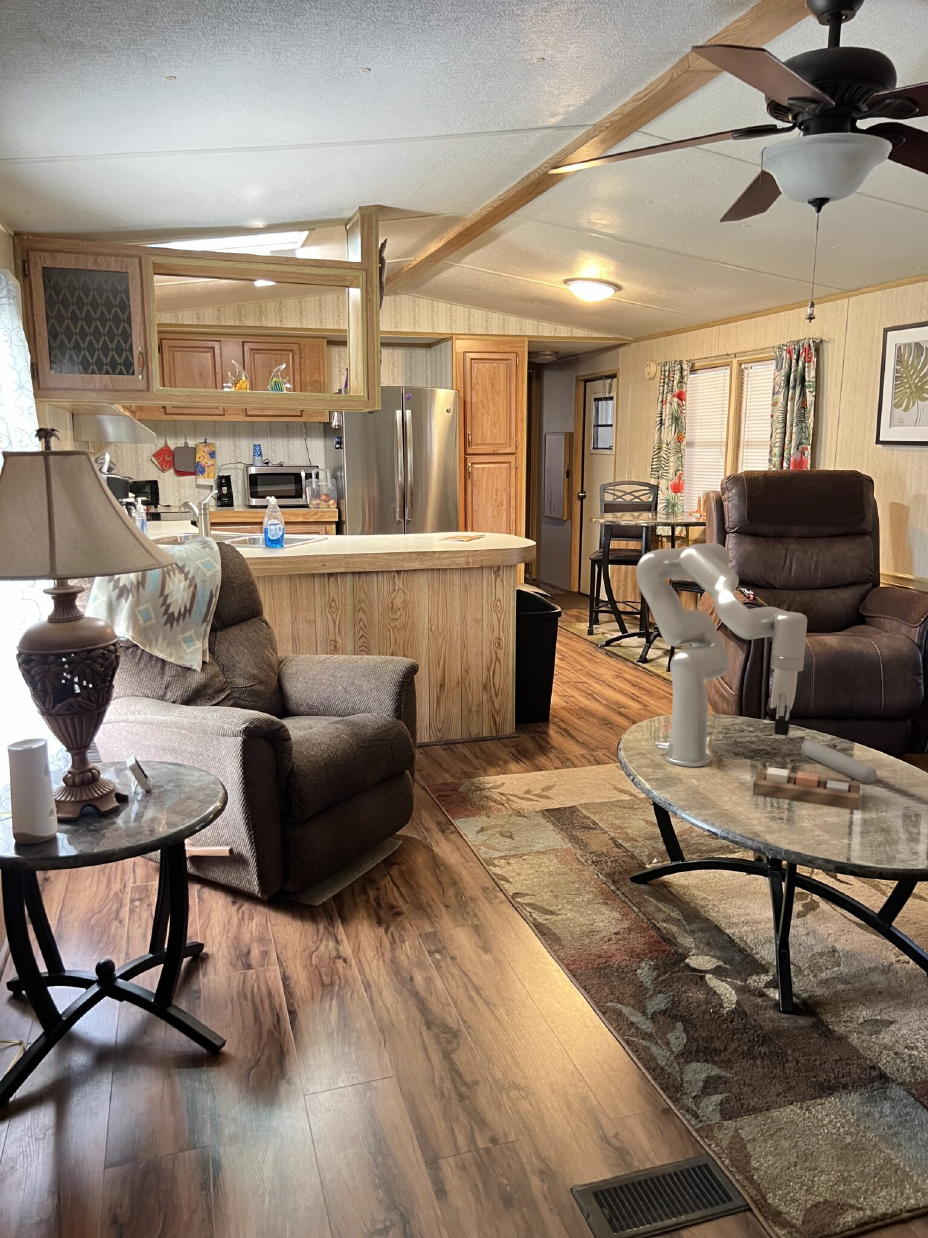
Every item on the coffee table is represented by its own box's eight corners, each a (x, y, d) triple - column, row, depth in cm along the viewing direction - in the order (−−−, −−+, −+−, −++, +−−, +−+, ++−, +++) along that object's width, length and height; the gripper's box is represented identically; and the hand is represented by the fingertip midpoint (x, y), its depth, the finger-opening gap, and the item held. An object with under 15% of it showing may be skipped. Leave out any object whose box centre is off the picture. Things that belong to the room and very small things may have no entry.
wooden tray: (752, 794, 221) (753, 783, 221) (759, 779, 232) (759, 768, 232) (858, 810, 211) (858, 798, 211) (859, 793, 222) (860, 782, 222)
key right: (825, 798, 218) (826, 786, 217) (826, 791, 222) (827, 780, 221) (846, 801, 216) (847, 789, 215) (847, 794, 220) (848, 783, 219)
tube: (884, 770, 228) (819, 741, 252) (868, 765, 226) (804, 736, 250) (877, 789, 229) (812, 758, 252) (861, 785, 227) (798, 754, 250)
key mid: (795, 788, 220) (796, 777, 220) (797, 782, 225) (798, 771, 224) (816, 791, 218) (817, 780, 218) (817, 785, 223) (818, 774, 222)
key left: (765, 784, 223) (766, 773, 223) (768, 778, 228) (768, 767, 227) (786, 787, 221) (786, 775, 221) (788, 781, 226) (788, 770, 225)
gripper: (774, 654, 227) (768, 724, 231) (767, 667, 214) (761, 740, 217) (805, 658, 224) (799, 728, 228) (801, 670, 211) (794, 745, 214)
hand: (781, 733), depth 222 cm, fingers closed
